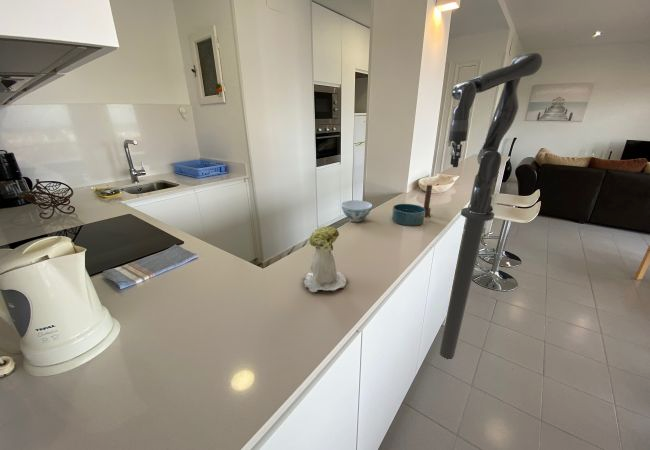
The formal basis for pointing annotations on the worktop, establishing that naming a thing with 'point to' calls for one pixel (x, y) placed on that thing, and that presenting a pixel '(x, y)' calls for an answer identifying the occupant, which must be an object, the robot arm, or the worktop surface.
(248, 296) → the worktop surface
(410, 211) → the bowl
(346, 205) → the chinaware
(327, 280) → the white plant vase
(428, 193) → the pestle
